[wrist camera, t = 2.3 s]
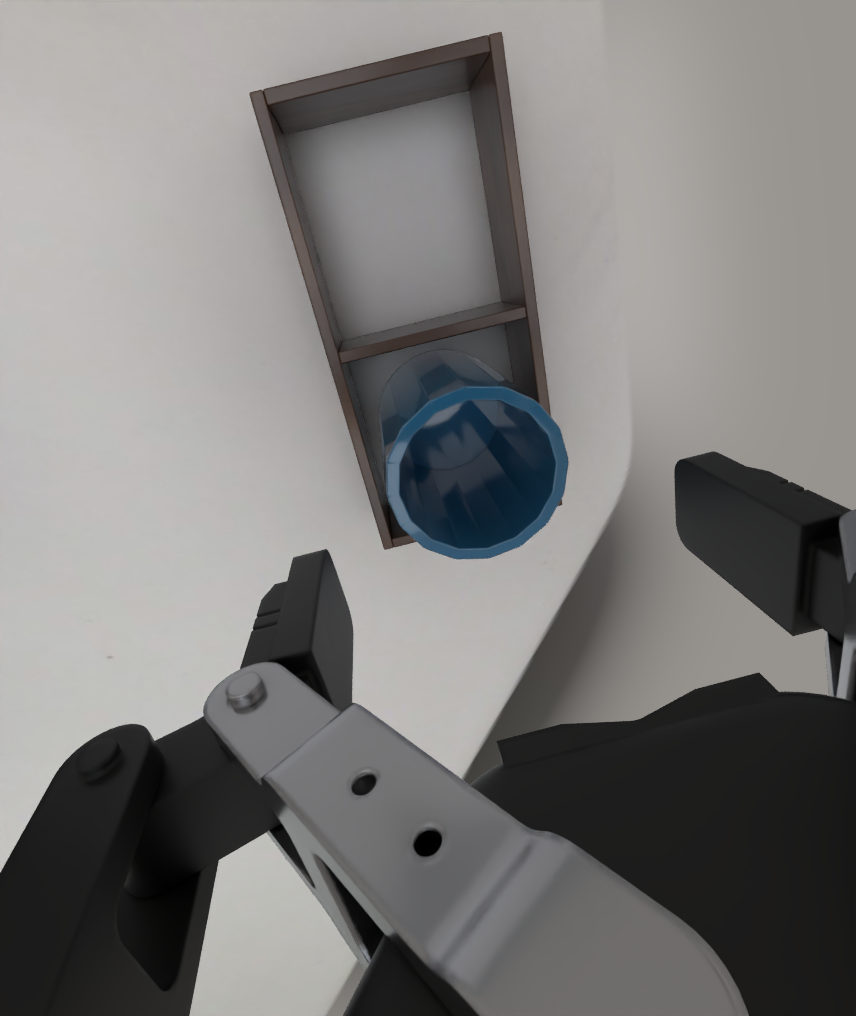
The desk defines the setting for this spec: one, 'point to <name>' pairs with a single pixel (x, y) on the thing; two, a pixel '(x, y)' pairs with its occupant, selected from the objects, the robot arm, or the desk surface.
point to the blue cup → (467, 456)
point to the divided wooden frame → (487, 82)
